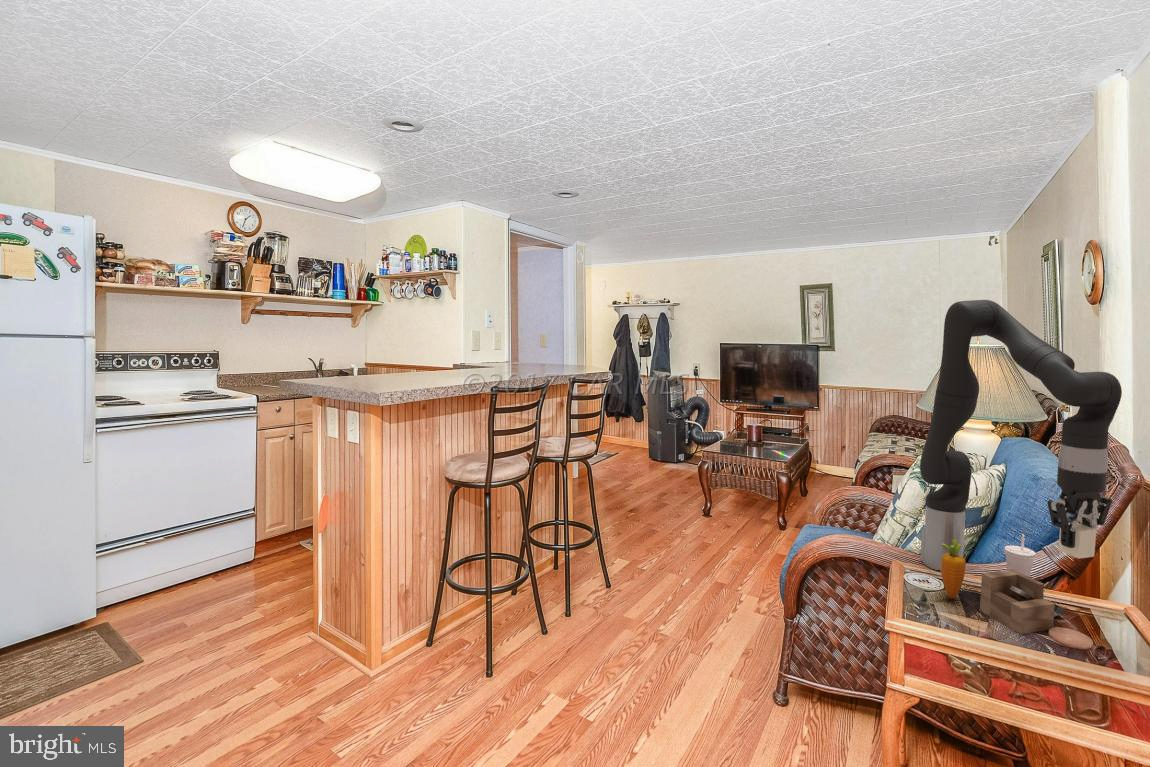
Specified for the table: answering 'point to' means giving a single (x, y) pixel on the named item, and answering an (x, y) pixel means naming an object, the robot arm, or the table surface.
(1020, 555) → the smoothie
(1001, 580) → the box
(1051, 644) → the table surface
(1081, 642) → the terracotta dish
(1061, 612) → the dark grey long block
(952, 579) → the carrot
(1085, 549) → the cream block
